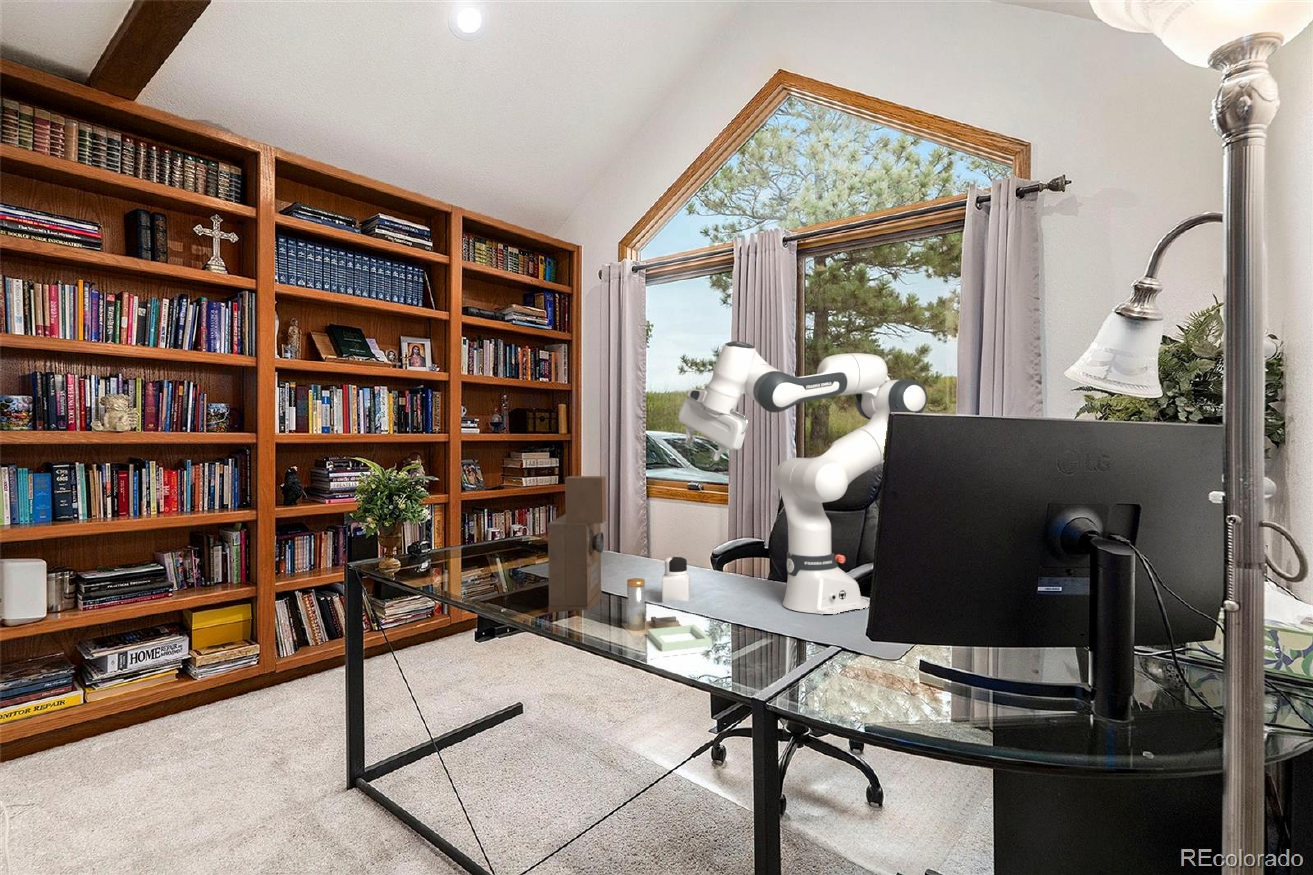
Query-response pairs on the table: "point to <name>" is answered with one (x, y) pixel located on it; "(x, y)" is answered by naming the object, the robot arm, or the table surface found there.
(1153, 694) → the table surface
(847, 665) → the table surface
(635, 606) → the glass spice jar
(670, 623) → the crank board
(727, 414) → the robot arm
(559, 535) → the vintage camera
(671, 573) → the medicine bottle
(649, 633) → the tray
